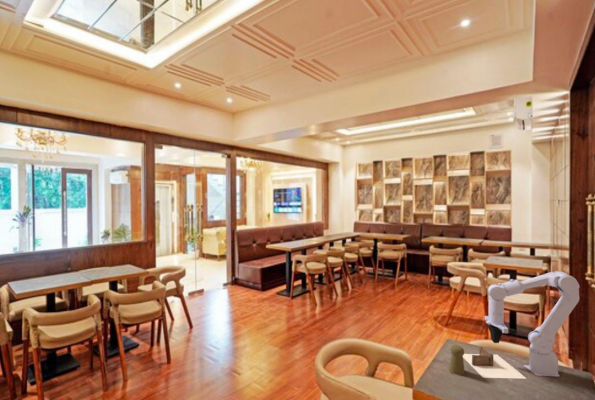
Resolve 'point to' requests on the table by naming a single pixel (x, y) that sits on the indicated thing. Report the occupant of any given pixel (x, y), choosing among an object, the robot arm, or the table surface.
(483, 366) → the card
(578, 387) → the table surface
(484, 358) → the fence gate
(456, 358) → the cork
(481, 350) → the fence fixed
